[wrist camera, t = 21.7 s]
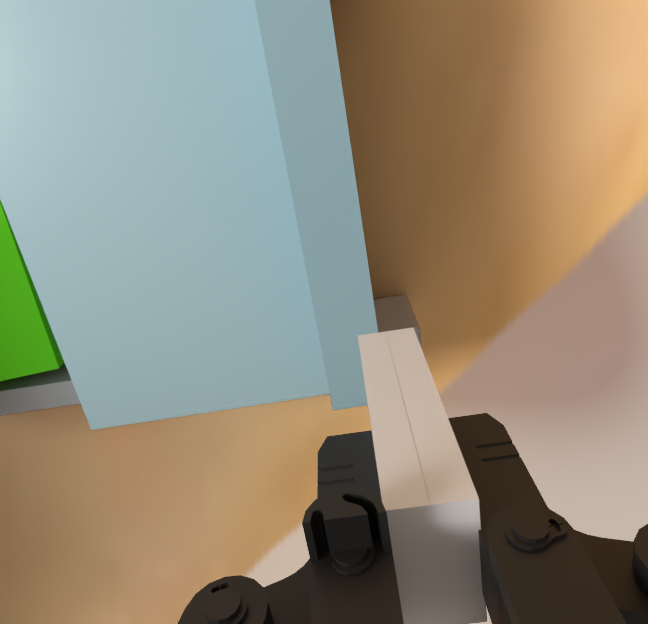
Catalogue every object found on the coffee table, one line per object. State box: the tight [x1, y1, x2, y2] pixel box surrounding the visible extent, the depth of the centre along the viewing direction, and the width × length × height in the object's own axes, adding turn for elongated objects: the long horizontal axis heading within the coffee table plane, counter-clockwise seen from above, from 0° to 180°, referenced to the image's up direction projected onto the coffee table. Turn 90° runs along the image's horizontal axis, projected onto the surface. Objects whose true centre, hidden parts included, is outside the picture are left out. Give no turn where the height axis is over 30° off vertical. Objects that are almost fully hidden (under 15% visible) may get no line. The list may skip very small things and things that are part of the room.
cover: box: [0, 0, 378, 430], centre depth 20 cm, size 13×19×8 cm
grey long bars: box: [0, 295, 422, 416], centre depth 23 cm, size 24×16×4 cm
